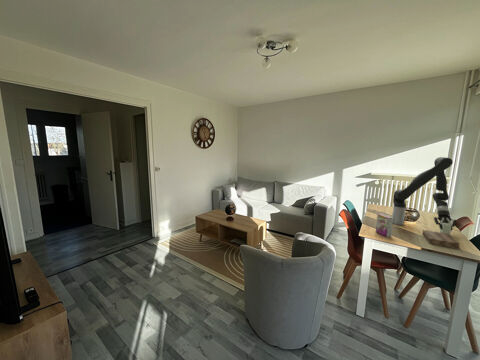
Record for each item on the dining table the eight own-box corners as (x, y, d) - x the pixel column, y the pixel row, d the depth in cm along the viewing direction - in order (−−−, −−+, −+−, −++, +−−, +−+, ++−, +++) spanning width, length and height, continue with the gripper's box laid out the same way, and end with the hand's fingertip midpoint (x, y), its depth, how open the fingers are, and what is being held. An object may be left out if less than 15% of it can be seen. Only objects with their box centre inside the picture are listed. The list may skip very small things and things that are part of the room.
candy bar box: (375, 232, 178) (377, 213, 175) (380, 231, 179) (382, 213, 176) (386, 237, 167) (388, 218, 164) (391, 237, 168) (393, 217, 165)
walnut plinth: (429, 243, 156) (430, 238, 155) (422, 234, 173) (423, 230, 172) (458, 248, 148) (459, 243, 147) (448, 238, 165) (448, 233, 165)
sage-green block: (441, 235, 171) (443, 224, 170) (439, 233, 175) (441, 222, 174) (449, 236, 169) (451, 225, 167) (447, 234, 173) (449, 223, 172)
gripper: (433, 208, 179) (436, 226, 171) (456, 211, 172) (460, 229, 163) (431, 213, 184) (433, 230, 176) (452, 215, 177) (456, 233, 169)
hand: (446, 229), depth 170 cm, fingers closed on sage-green block, 5 cm apart
